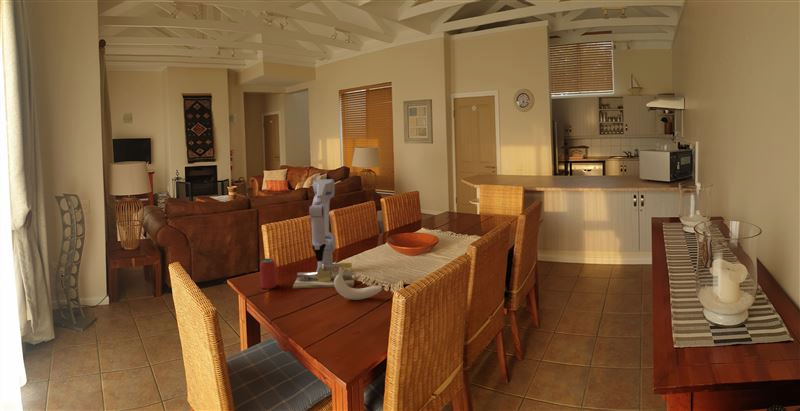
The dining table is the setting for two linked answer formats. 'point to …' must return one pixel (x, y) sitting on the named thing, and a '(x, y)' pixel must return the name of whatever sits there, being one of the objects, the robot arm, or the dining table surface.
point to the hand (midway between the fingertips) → (319, 260)
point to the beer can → (268, 273)
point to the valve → (323, 274)
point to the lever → (338, 265)
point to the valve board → (321, 283)
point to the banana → (351, 292)
